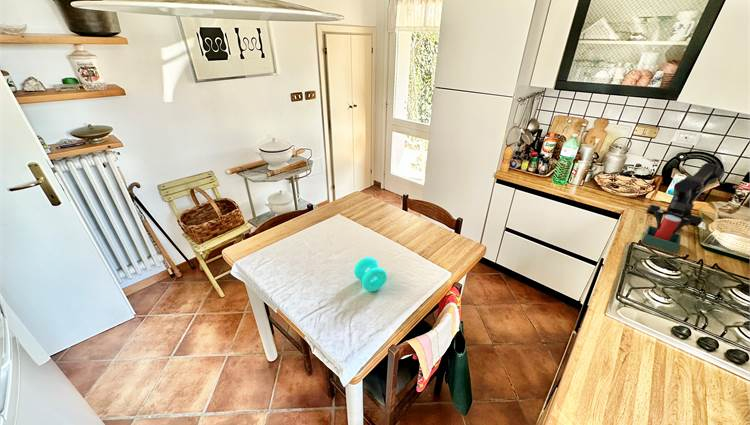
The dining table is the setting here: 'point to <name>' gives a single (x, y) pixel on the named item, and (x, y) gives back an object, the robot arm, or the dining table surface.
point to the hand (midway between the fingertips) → (665, 230)
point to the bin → (661, 240)
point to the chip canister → (667, 227)
